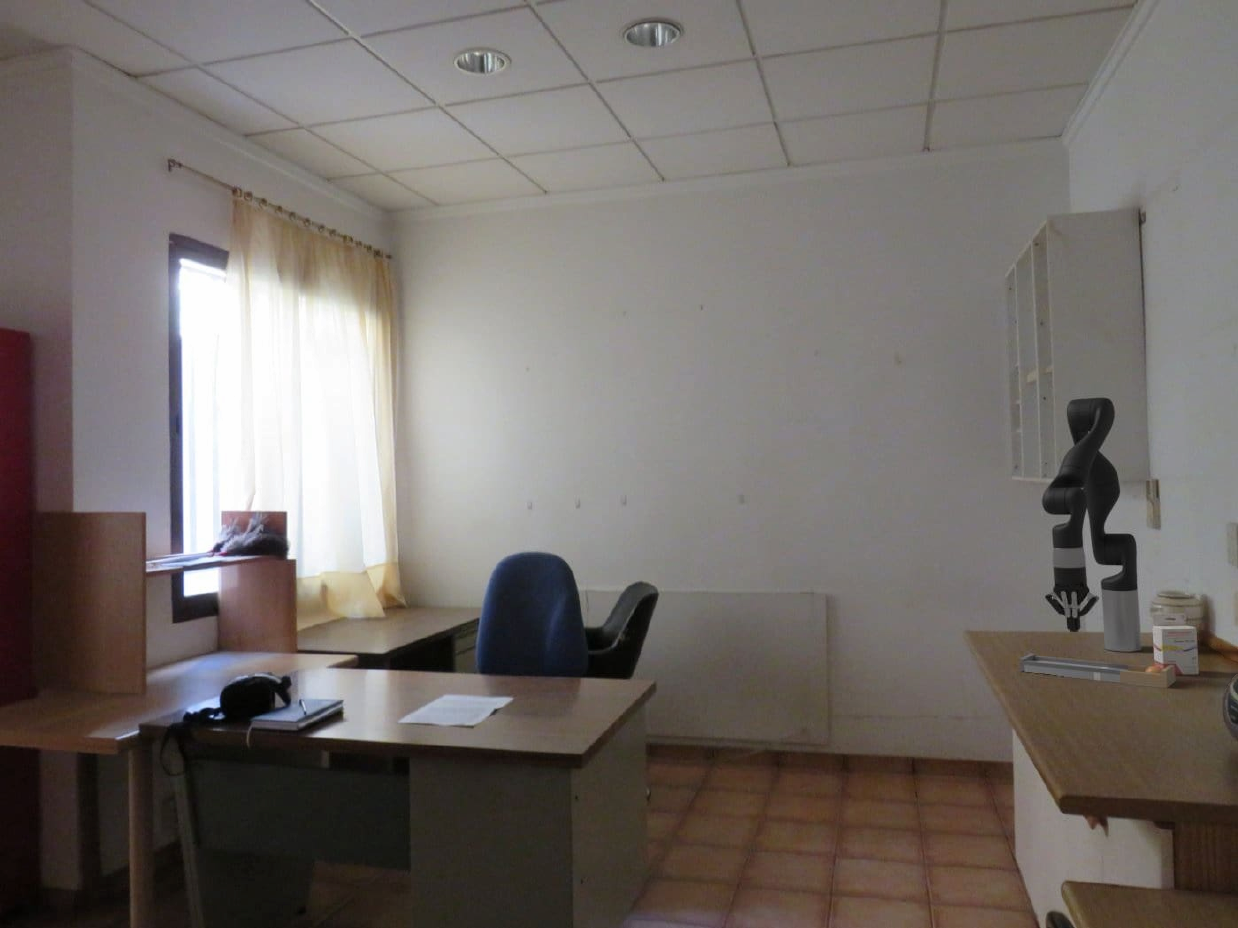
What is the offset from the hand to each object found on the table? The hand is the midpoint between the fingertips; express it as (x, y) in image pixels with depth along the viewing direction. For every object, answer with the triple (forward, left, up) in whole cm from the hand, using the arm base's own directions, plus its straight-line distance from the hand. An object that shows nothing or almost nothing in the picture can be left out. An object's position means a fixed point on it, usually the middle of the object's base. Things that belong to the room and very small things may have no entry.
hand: (1074, 631), depth 232 cm
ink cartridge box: (-14, +20, -11) cm, 26 cm away
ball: (0, +18, -9) cm, 20 cm away
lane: (0, +5, -11) cm, 12 cm away
